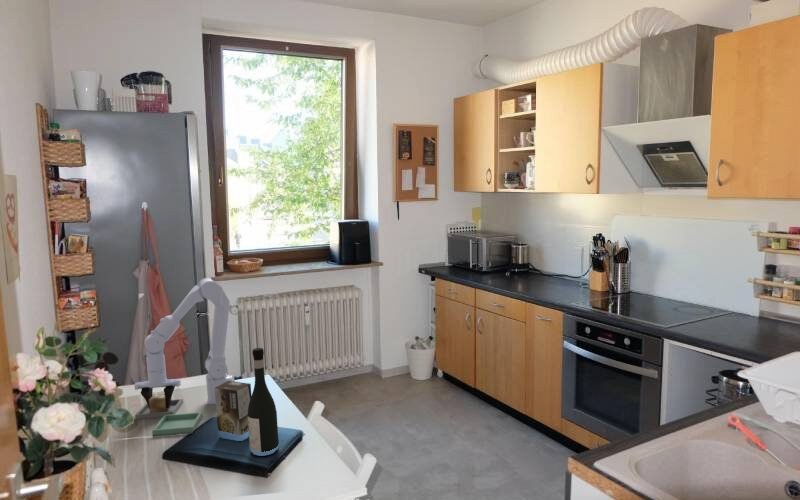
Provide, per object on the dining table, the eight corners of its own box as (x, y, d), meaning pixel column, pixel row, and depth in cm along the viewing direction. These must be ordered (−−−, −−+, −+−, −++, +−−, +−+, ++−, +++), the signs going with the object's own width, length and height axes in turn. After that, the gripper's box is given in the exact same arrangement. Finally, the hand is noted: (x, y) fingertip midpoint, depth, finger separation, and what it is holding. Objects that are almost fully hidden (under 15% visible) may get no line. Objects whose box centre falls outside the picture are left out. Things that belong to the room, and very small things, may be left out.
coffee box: (255, 434, 169) (251, 383, 167) (241, 443, 163) (237, 390, 161) (232, 429, 173) (228, 380, 171) (217, 438, 167) (213, 387, 165)
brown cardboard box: (169, 407, 192) (168, 393, 191) (165, 413, 187) (164, 398, 186) (154, 408, 191) (153, 394, 191) (150, 414, 186) (148, 399, 186)
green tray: (202, 417, 183) (202, 411, 183) (193, 433, 171) (192, 427, 171) (165, 420, 182) (164, 414, 182) (152, 436, 170) (152, 430, 170)
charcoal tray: (183, 404, 196) (182, 398, 196) (173, 417, 184) (172, 412, 184) (147, 406, 195) (147, 401, 194) (135, 420, 183) (134, 415, 182)
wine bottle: (253, 461, 152) (246, 354, 148) (247, 449, 159) (240, 348, 156) (282, 453, 155) (275, 349, 152) (275, 442, 162) (268, 343, 159)
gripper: (181, 364, 192) (184, 401, 194) (138, 367, 191) (141, 405, 192) (175, 370, 185) (179, 409, 187) (130, 373, 184) (134, 412, 185)
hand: (159, 407), depth 189 cm, fingers closed on brown cardboard box, 5 cm apart
